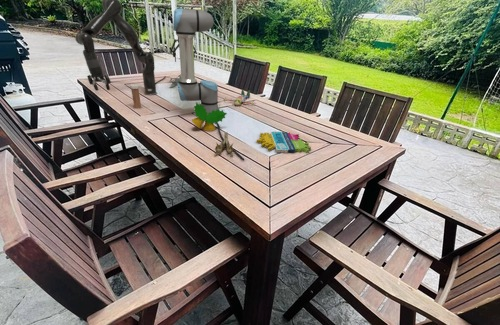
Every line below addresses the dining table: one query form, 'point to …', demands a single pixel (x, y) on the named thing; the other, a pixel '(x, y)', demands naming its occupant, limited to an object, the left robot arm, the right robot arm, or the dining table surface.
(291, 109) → the dining table surface
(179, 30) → the right robot arm
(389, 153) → the dining table surface
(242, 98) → the toy
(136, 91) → the jar
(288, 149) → the sign
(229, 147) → the jawbone
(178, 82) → the airplane
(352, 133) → the dining table surface
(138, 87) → the lid
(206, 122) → the ornament
